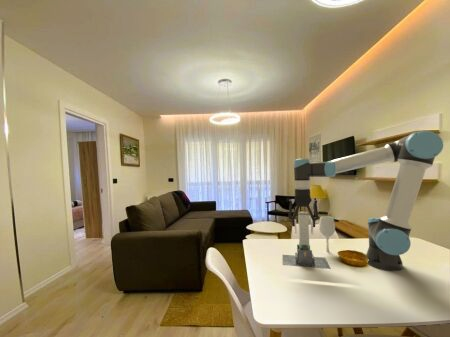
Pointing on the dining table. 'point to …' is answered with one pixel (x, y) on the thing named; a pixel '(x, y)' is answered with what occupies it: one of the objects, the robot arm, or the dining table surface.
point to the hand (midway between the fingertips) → (303, 232)
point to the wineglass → (327, 228)
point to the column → (303, 230)
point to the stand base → (305, 259)
